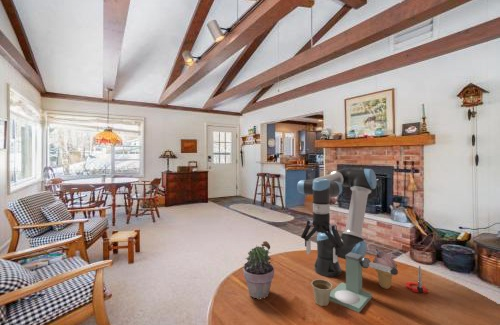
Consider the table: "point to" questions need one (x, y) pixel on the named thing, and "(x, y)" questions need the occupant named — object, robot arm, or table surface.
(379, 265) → the lever
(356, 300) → the press
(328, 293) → the flower pot
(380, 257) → the ice cream cone
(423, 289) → the tow hook
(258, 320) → the table surface
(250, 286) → the potted plant
